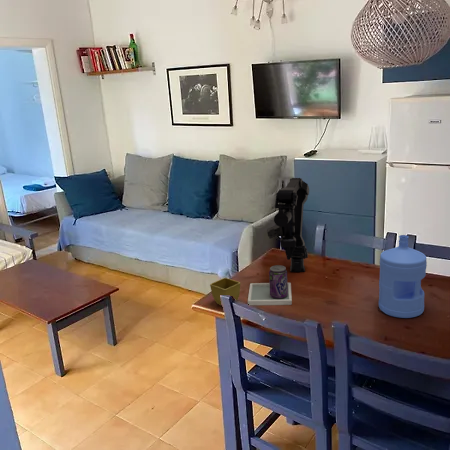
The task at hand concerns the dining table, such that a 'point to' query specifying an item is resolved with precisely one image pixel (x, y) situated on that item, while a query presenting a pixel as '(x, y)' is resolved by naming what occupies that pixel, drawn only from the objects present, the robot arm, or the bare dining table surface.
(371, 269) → the dining table surface
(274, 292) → the beverage can
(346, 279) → the dining table surface
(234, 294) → the flower pot
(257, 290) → the tray
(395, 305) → the water jug
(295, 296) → the dining table surface
